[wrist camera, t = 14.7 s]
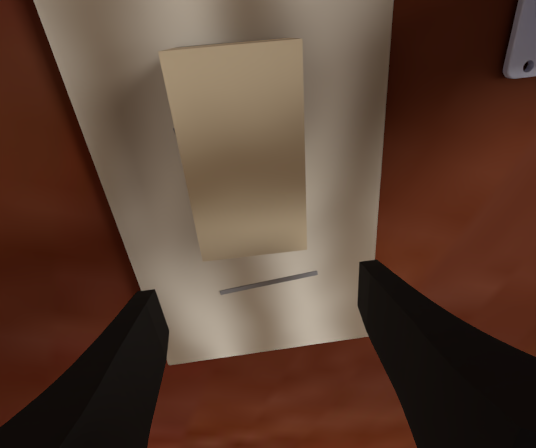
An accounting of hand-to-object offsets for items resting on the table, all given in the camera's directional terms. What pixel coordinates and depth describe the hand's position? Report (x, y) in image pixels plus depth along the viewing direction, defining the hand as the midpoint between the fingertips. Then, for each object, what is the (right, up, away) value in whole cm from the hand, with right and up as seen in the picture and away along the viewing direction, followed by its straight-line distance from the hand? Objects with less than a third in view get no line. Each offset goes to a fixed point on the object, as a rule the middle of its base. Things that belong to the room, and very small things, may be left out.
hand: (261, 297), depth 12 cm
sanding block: (-1, +7, +4) cm, 8 cm away
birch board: (-1, +4, +7) cm, 8 cm away
